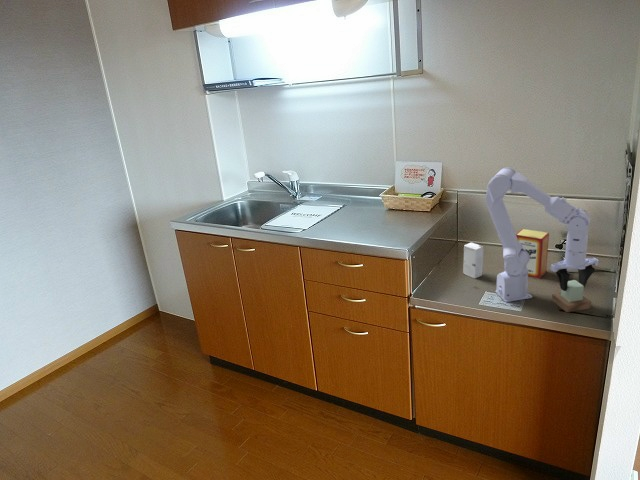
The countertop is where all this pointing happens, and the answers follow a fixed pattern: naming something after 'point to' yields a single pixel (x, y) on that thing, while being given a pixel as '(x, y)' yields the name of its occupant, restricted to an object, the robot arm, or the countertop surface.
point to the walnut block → (571, 303)
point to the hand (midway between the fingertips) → (572, 288)
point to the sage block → (573, 291)
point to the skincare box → (473, 260)
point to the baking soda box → (535, 250)
